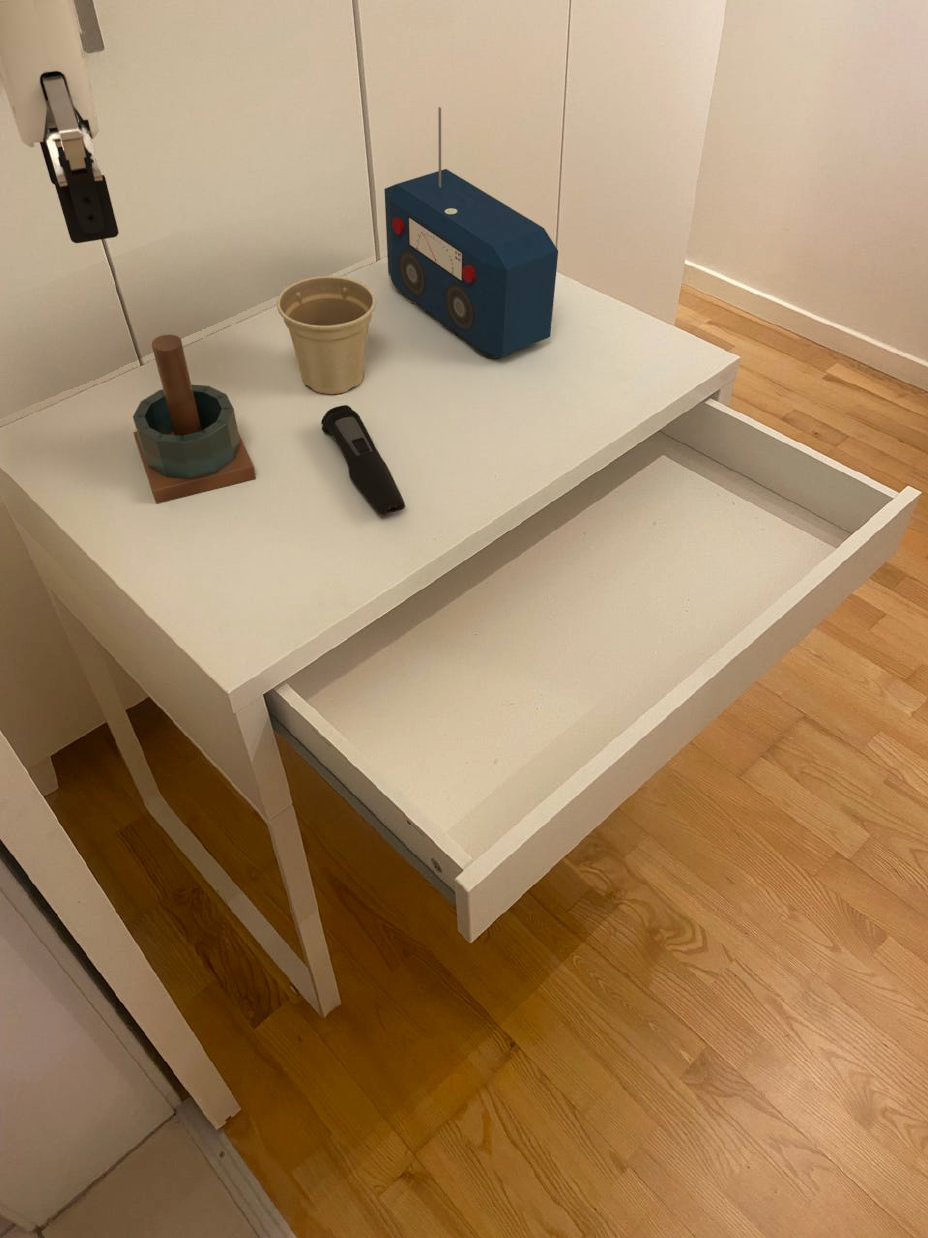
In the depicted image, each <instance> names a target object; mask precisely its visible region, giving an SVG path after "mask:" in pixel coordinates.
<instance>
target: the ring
mask: <svg viewBox="0 0 928 1238" xmlns="http://www.w3.org/2000/svg"><path fill="white" fill-rule="evenodd" d="M191 385H192V389H193V394H194V398H195V402H196V407H197V411H198V415H199V420H200V424H201V427H207V428H206V429H204V430H203V431H200V432H196V433H191V434H187V435H183V436H179V435H169V434H170V433H172V432H173V431H174V430H173V426H172V422H171V418H170V414H169V410H168V407H167V403H166V399H165V395H164V391H163V388H161V389H158V390H157V391H155V392H154V393H152V394H150V395H149V396H147V397H146V398H144V399H143V400H140V403H139V404H138V407H137V408H136V410H135V412H134V413H133V416H132V420H133V423H134V426H135V430H136V431H137V434H138V437H139V440H140V444H141V447H142V451H143V454H144V456H145V459H146V462H147V464H148V467H149V468H151V469H153V470H155V471H156V472H158V473H160V474H162V475H164V476H166V477H172V478H185V479H193V478H197V477H201V476H205V475H208V474H212V473H216V472H218V471H219V470H220V469H222V468H223V467H224V466H226V465H227V464H229V463H230V462H231V461H233V460H234V459H235V457H236V454H237V452H238V449H239V447H240V439H239V434H240V433H239V434H238V432H239V430H238V423H237V420H236V413H235V409H234V406H233V404H232V402H231V400H230V399H229V396H228V395H227V394H226V393H224V392H222V391H220V390H218V389H216V388H214V387H212V386H210V385H203V384H191Z"/></svg>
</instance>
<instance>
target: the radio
mask: <svg viewBox="0 0 928 1238" xmlns="http://www.w3.org/2000/svg"><path fill="white" fill-rule="evenodd" d="M437 109H438V110H437V111H438V113H437V114H438V115H437V116H438V170H437V171H434V172H431V173H428V174H425V175H421V176H418V177H415V178H412V179H408V180H405V181H402V182H398V183H395V184H392V185H390V186H388V187H385V188H384V189H383V190H384V209H385V210H384V212H385V232H386V252H387V253H386V255H387V256H386V257H387V274H388V275H389V278H390V281H391V282H392V285H394V287H395V288H396V289H397V290H398V292H399V293H401V294H402V295H403V296H404V297H406V298H408V299H409V300H410V301H411V302H412V303H414V304H415V305H416V306H417V307H419V308H421V309H422V310H424V311H425V312H426V313H427V314H428V315H429V316H432V317H433V318H434V319H435V320H437V321H438V322H439V323H441V325H443V326H444V327H445V328H447V329H448V330H450V331H451V332H453V333H454V334H455V335H456V336H458V337H459V338H460V339H462V340H463V341H464V342H466V343H467V344H468V345H470V346H471V347H472V348H474V349H475V350H476V351H478V352H479V353H480V354H482V355H483V356H484V357H486V358H487V359H495V358H496V359H497V358H504V357H506V356H508V355H511V354H513V353H515V352H517V351H520V350H523V349H525V348H527V347H530V346H532V345H535V344H537V343H539V342H541V341H544V340H546V339H548V338H551V331H552V322H553V310H554V303H555V302H554V301H555V290H556V288H555V287H556V280H557V269H558V258H559V250H558V248H557V246H556V245H555V243H554V241H553V240H552V239H551V237H550V235H549V234H548V232H547V230H546V229H545V227H543V226H542V225H540V224H538V223H536V222H535V221H534V220H532V219H530V218H528V217H526V216H525V215H523V214H521V213H520V212H518V211H517V210H515V209H513V208H512V207H510V206H509V205H507V204H505V203H504V202H502V201H500V200H498V199H497V198H495V197H494V196H493V195H490V194H489V193H487V192H485V191H483V190H482V189H480V188H479V187H477V186H476V185H474V184H472V183H471V182H469V181H467V180H466V179H464V178H463V177H460V176H459V175H458V174H456V173H454V172H452V171H450V170H449V169H447V168H443V169H442V107H440V106H438V108H437Z"/></svg>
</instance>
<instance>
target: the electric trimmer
mask: <svg viewBox="0 0 928 1238" xmlns="http://www.w3.org/2000/svg"><path fill="white" fill-rule="evenodd" d="M321 425H322V426H321V430H322V431H323V433H324V434H331V435H332V437H333V439H334V440H335V442H336V444H337V445H338V447H339V449H340V451H341V452H342V455H343V457H344V459H345V461H346V464H347V467H348V476H349V479H350V481H351V482H352V483H353V484H354V486H355V487H356V489H357V490H358V491H359V492H360V493H361V495H362V496H363V497H364V498H365V499H366V501H367V502H368V503H369V504H370V505H371V507H372V508H373V509H374V510H375V512H376V513H377V514H378V515H379V516H385V515H388V514H393V513H396V512H400V511H404V510H405V508H406V503H405V501H404V499H403V496H402V493H401V492H400V490H399V488H398V486H397V484H396V482H395V480H394V477H393V475H392V473H391V471H390V469H389V467H388V465H387V463H386V461H384V459H383V457H382V456H381V454H380V451H378V449H377V447H376V445H375V443H374V441H373V440H372V437H371V435H370V433H369V431H368V428H367V427H366V426H365V424H364V422H363V421H362V419H361V416H360V415H359V413H357V412H356V411H355V410H354V409H352V407H350V406H349V405H347V404H344V405H339V406H335V407H332V408H330V409H328V410H327V411H326V413H325V414H324V415H323V416H322V419H321Z"/></svg>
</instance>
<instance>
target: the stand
mask: <svg viewBox="0 0 928 1238" xmlns="http://www.w3.org/2000/svg"><path fill="white" fill-rule="evenodd" d="M151 348H152V352H153V355H154V359H155V364H156V367H157V371H158V375H159V379H160V383H161V387H162V389H163V391H164V395H165V399H166V403H167V407H168V410H169V414H170V418H171V422H172V426H173V430H174V431H173V432H172V433H170V434H169V435H179V436H183V435H187V434H191V433H196V432H200V431H203V430H204V429H206V428H207V427H201V424H200V420H199V415H198V411H197V407H196V402H195V398H194V394H193V389H192V385H193V384H192V381H191V377H190V373H189V368H188V363H187V359H186V355H185V350H184V347H183V341H182V339H181V338H180V337H179V336H178V335H175V334H161V335H160V336H157V337H155V338H154V339H153V340H152V342H151ZM132 434H133V436H134V440H135V443H136V447H137V449H138V453H139V455H140V459H141V463H142V465H143V468H144V471H145V474H146V477H147V481H148V483H149V486H150V489H151V492H152V496H153V499H154V502H155V504H160V503H161V504H162V503H165V502H169V501H172V500H178V499H180V498H185V497H188V496H193V495H196V494H201V493H204V492H209V491H213V490H217V489H221V488H224V487H229V486H232V485H238V484H241V483H244V482H249V481H252V480H256V479H257V477H256V471H255V466H254V464H253V462H252V459H251V457H250V455H249V452H248V450H247V448H246V446H245V443H244V441H243V439H242V437H241V434H240V432H239V431H238V434H239V439H240V447H239V449H238V452H237V454H236V457H235V459H234V460H233V461H231V462H230V463H229V464H227V465H226V466H224V467H223V468H222V469H220V470H219V471H218V472H216V473H212V474H208V475H205V476H201V477H197V478H193V479H185V478H172V477H166V476H164V475H162V474H160V473H158V472H156V471H155V470H153V469H151V468H149V467H148V464H147V462H146V459H145V456H144V454H143V451H142V447H141V444H140V440H139V437H138V434H137V430H136V431H133V432H132Z"/></svg>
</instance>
